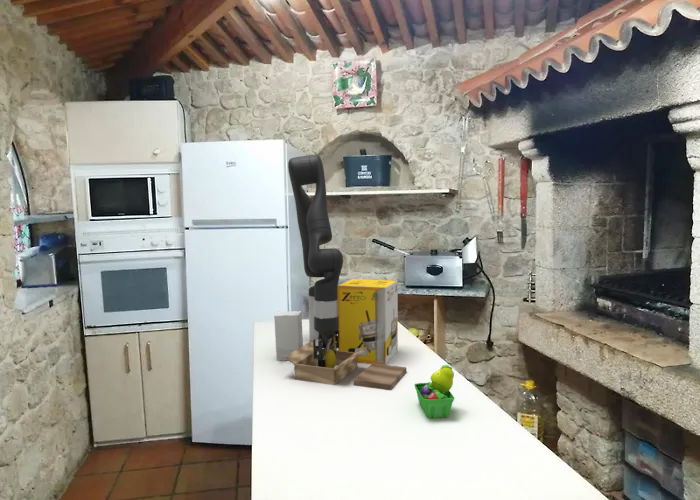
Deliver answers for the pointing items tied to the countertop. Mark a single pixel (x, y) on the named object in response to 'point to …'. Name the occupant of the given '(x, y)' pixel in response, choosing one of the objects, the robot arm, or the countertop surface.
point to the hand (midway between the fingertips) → (327, 367)
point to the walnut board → (380, 376)
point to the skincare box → (288, 333)
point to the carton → (311, 372)
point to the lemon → (330, 359)
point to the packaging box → (369, 319)
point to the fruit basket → (437, 393)
